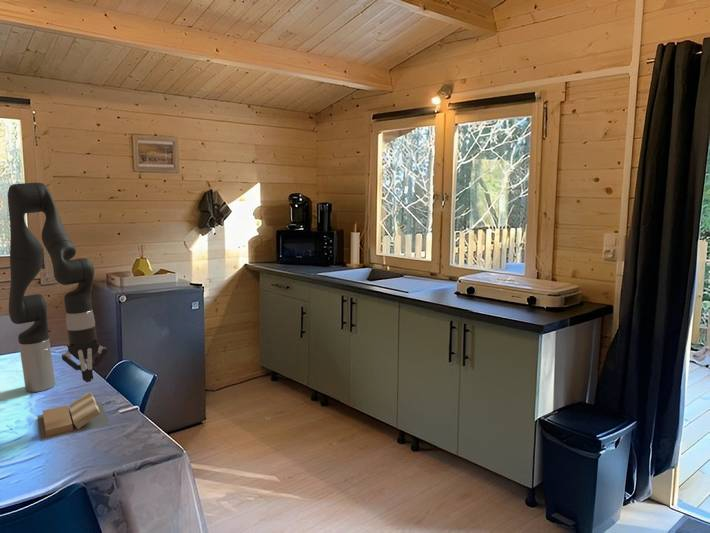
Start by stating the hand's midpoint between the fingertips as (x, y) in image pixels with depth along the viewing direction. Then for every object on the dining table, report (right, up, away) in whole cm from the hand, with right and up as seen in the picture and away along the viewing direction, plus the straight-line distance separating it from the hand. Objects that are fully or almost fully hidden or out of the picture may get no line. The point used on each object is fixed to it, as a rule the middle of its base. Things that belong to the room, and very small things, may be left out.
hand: (88, 381), depth 168 cm
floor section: (-4, -12, -1) cm, 13 cm away
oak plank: (-1, -10, +1) cm, 10 cm away
